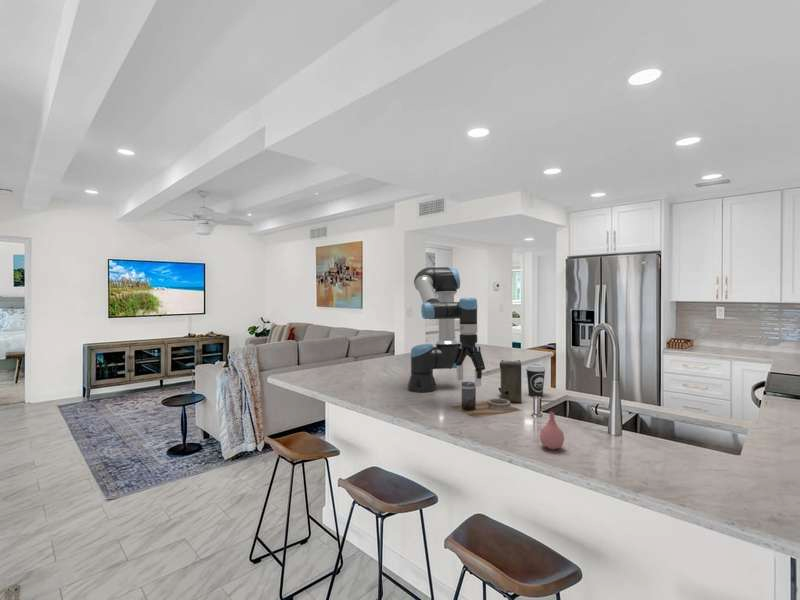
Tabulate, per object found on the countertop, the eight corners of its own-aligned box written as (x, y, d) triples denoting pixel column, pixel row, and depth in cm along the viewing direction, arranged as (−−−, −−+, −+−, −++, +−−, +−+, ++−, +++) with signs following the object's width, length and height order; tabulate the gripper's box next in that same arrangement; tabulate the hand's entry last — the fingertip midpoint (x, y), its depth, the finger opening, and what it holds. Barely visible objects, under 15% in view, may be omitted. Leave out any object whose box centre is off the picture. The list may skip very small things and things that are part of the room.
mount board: (451, 409, 184) (451, 400, 184) (495, 403, 194) (495, 393, 194) (475, 421, 168) (475, 411, 167) (522, 413, 178) (522, 403, 178)
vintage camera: (516, 396, 208) (515, 356, 208) (522, 403, 193) (521, 360, 193) (496, 396, 209) (495, 356, 209) (501, 403, 194) (500, 360, 194)
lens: (458, 407, 182) (458, 382, 182) (470, 405, 185) (470, 380, 184) (466, 411, 176) (466, 384, 176) (478, 409, 179) (478, 383, 179)
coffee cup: (547, 394, 208) (548, 364, 208) (543, 399, 200) (543, 368, 200) (528, 392, 213) (528, 363, 213) (523, 396, 205) (523, 366, 205)
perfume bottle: (541, 442, 145) (541, 408, 144) (565, 446, 142) (565, 410, 141) (538, 450, 138) (538, 414, 137) (563, 454, 135) (563, 417, 134)
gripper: (445, 331, 189) (446, 378, 190) (478, 336, 167) (478, 389, 167) (459, 331, 192) (460, 376, 193) (493, 335, 170) (493, 387, 170)
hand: (468, 383), depth 180 cm, fingers open, 13 cm apart
